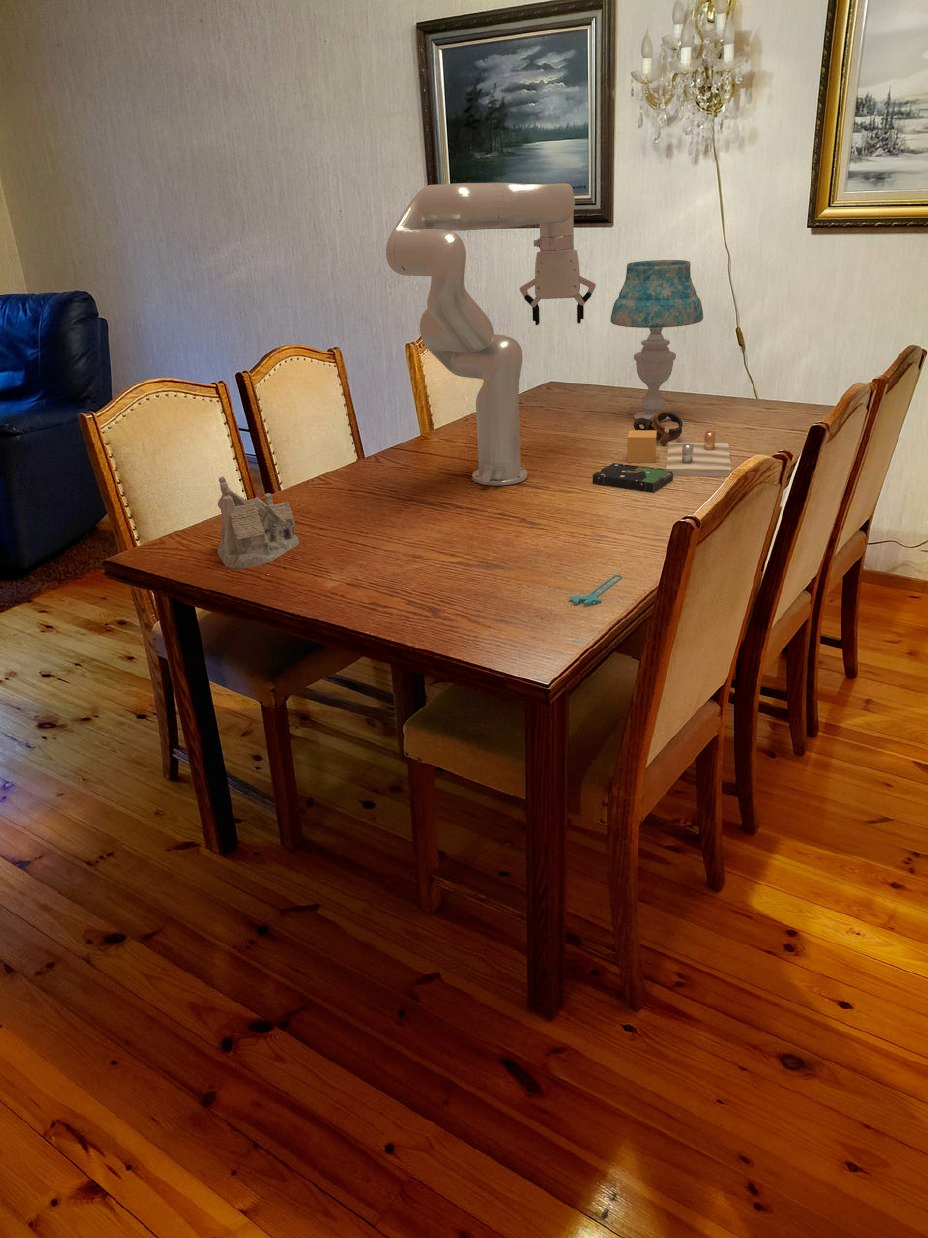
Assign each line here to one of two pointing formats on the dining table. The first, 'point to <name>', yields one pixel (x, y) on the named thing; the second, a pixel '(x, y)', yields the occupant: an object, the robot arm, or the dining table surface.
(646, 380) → the table lamp
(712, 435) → the copper post
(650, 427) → the brown wheeled mechanism
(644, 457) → the mustard wooden cube
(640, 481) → the disk drive
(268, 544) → the ceramic cottage
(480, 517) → the dining table surface
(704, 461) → the birch board
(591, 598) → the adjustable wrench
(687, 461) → the steel post
